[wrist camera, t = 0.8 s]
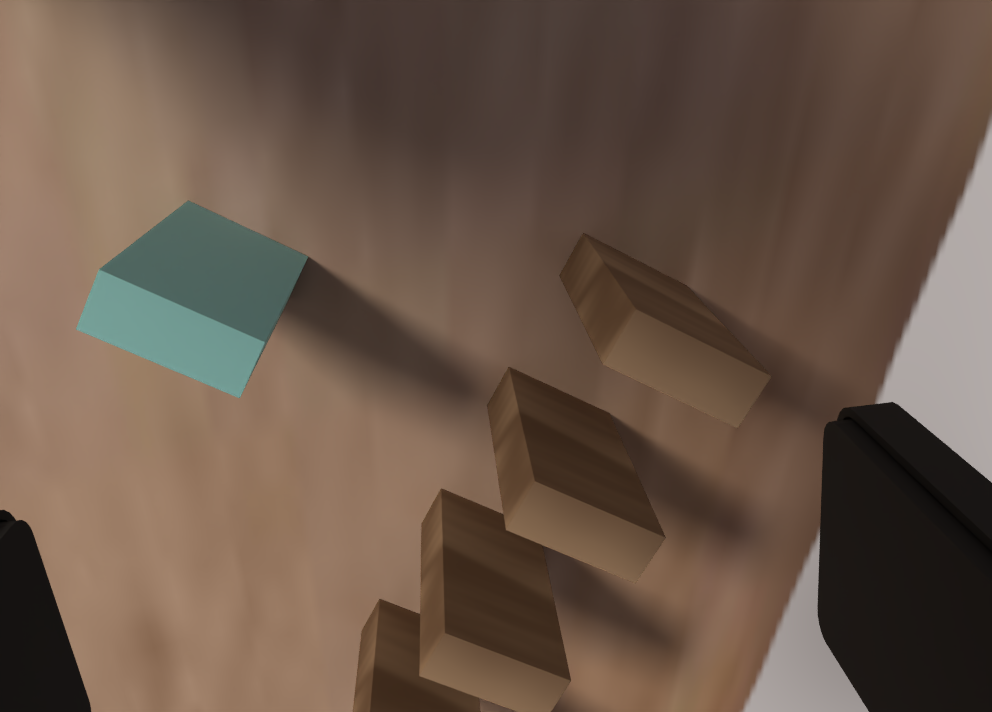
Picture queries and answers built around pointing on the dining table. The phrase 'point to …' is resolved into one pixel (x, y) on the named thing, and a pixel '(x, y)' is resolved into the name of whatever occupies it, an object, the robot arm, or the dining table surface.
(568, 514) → the domino
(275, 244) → the teal domino
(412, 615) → the domino
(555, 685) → the domino
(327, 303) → the dining table surface
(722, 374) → the domino
